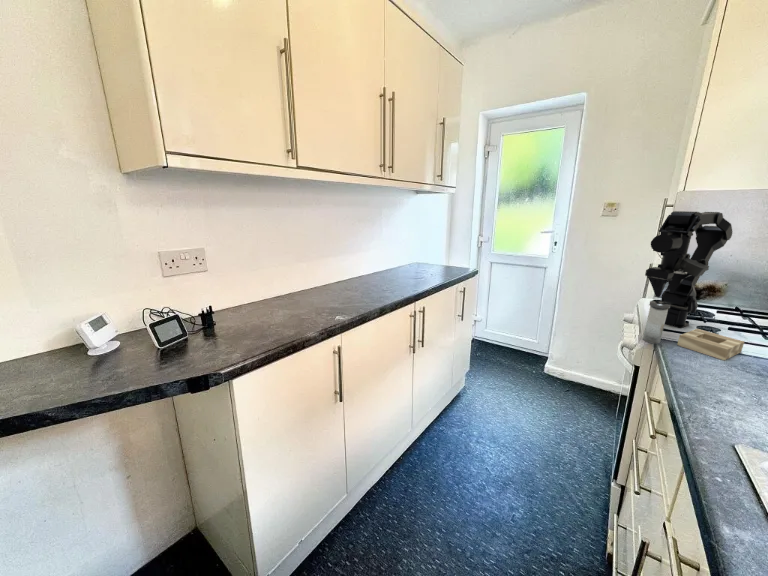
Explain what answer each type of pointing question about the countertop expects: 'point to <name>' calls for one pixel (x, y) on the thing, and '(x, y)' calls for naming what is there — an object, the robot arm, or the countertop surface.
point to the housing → (710, 344)
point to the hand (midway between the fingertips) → (665, 294)
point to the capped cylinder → (655, 321)
